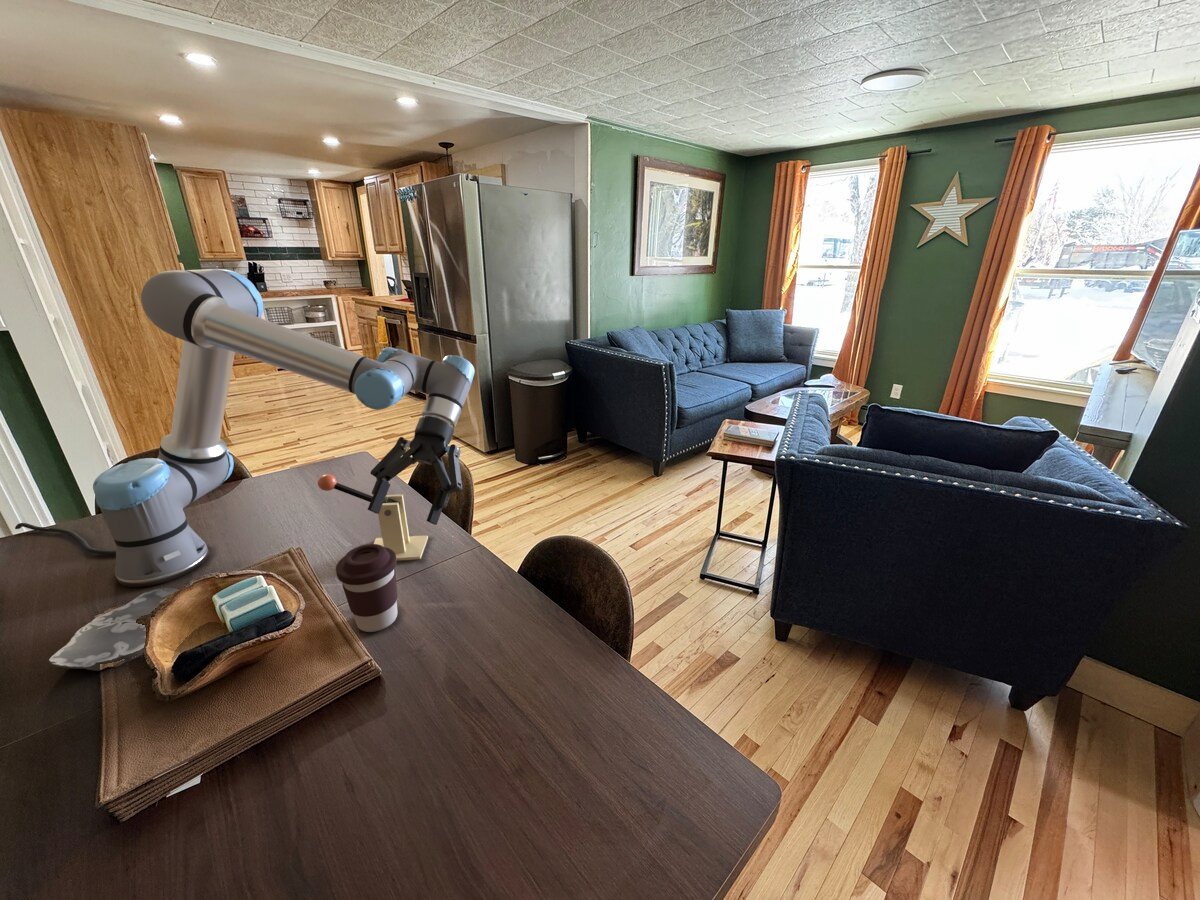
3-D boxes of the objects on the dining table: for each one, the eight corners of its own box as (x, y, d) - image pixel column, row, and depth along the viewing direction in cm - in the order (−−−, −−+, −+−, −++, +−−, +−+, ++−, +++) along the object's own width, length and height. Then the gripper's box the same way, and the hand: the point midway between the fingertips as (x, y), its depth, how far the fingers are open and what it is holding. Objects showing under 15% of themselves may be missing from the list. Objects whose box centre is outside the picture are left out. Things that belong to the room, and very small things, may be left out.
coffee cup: (384, 642, 85) (371, 574, 80) (336, 633, 87) (320, 566, 81) (415, 606, 94) (405, 542, 89) (371, 598, 96) (358, 535, 90)
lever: (312, 489, 101) (318, 476, 100) (319, 482, 104) (324, 469, 103) (392, 519, 106) (398, 506, 105) (396, 511, 109) (402, 498, 108)
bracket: (365, 564, 106) (355, 510, 101) (377, 542, 115) (368, 491, 109) (420, 561, 108) (413, 508, 103) (428, 539, 116) (421, 489, 111)
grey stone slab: (139, 682, 76) (132, 669, 75) (35, 679, 76) (27, 665, 75) (230, 601, 94) (225, 588, 93) (146, 598, 94) (140, 586, 93)
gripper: (496, 437, 102) (465, 532, 94) (398, 423, 108) (361, 512, 100) (482, 421, 95) (448, 522, 87) (378, 408, 101) (337, 501, 93)
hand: (401, 517), depth 94 cm, fingers open, 13 cm apart
